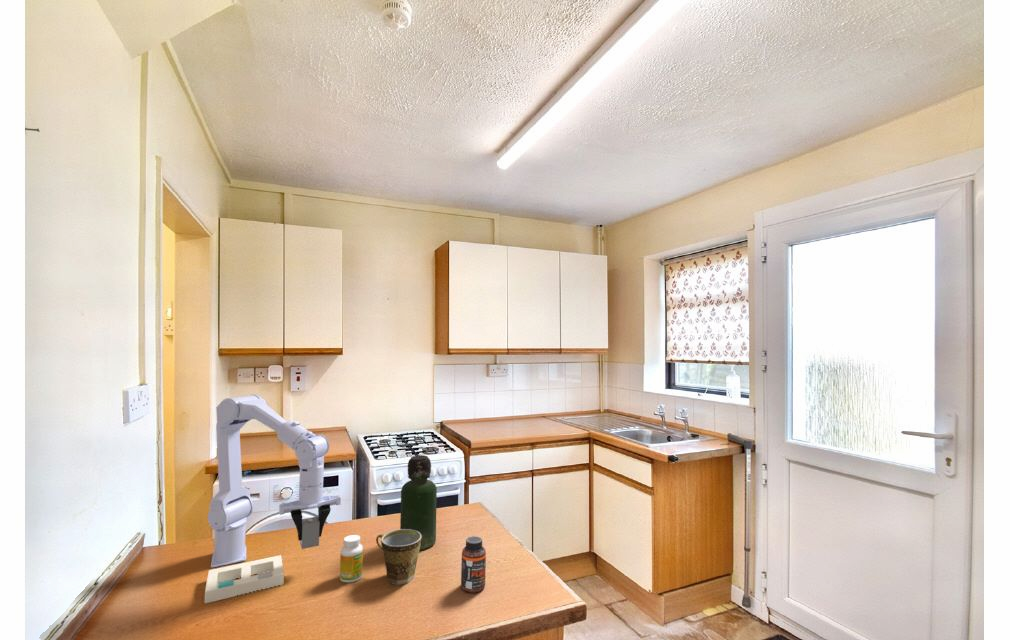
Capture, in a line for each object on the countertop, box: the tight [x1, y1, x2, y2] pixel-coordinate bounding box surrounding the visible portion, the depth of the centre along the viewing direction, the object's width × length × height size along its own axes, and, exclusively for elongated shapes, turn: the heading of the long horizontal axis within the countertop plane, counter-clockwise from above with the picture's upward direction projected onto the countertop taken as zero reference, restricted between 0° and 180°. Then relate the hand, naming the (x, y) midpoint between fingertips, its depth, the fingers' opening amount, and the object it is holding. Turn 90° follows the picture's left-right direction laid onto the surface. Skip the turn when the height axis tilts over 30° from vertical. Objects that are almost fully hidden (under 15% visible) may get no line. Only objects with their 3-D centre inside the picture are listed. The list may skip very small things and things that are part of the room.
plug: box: [299, 515, 320, 550], centre depth 114 cm, size 4×4×6 cm
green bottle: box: [399, 454, 438, 551], centre depth 131 cm, size 10×10×25 cm
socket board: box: [204, 554, 285, 604], centre depth 108 cm, size 11×16×3 cm
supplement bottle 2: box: [460, 536, 487, 594], centre depth 107 cm, size 6×6×11 cm
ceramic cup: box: [375, 529, 421, 586], centre depth 112 cm, size 13×10×10 cm
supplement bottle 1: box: [339, 534, 364, 583], centre depth 111 cm, size 5×5×10 cm
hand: (309, 537), depth 114 cm, fingers closed on plug, 4 cm apart
